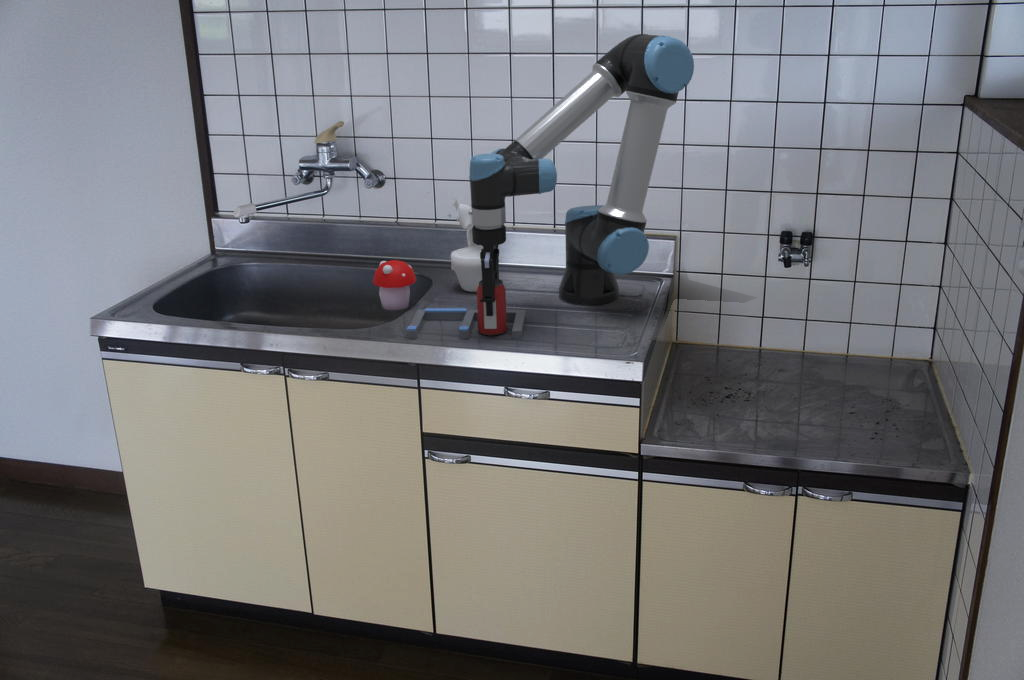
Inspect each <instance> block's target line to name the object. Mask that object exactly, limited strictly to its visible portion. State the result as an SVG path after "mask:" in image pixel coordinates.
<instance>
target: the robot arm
mask: <svg viewBox="0 0 1024 680" xmlns="http://www.w3.org/2000/svg"><path fill="white" fill-rule="evenodd" d="M694 71H695V62H694V57H693V54H692V52H691V50H690V48H689V47H688V46H687V44H686V43H685V42H684V41H682V40H680V39H678V38H675V37H671V36H669V35H667V36H666V35H663V34H662V35H656V34H655V35H653V34H648V33H647V34H645V33H638V34H635V35H631V36H628V37H627V38H625V39H624V40H622V41H620V42H619V43H618V44H616V45H615V46H614V47H612V48H611V49H610V50H609V51H607V52H606V53H605V54H604V55H603V56H601V57H600V59H598V60H597V61H596V62H595V63H594V64H593V65H592V70H591V72H590V73H589V74H588V75H587V76H585V78H583V79H582V80H581V81H580V82H579V83H578V84H576V85H575V87H573V88H572V89H571V90H570V91H569V92H567V93H566V94H565V95H564V96H563V97H562V98H561V99H560V100H559V101H557V102H556V103H555V104H554V105H553V106H552V107H551V108H550V109H549V110H547V111H546V112H545V113H544V114H543V115H542V116H541V117H540V118H538V120H536V121H535V122H534V123H533V124H532V125H531V126H529V127H528V128H527V129H526V130H525V131H523V132H522V133H521V134H520V135H519V136H518V137H516V139H515V140H513V141H512V142H511V143H510V144H509V145H508V146H507V147H505V148H498V149H496V150H493V152H491V153H481V154H476V155H473V156H472V157H471V158H470V161H469V176H468V178H469V188H470V202H471V204H470V205H471V206H470V207H471V209H472V210H471V211H469V214H470V215H473V216H472V224H473V225H474V226H473V227H472V240H473V244H475V245H478V246H482V247H483V249H482V250H481V252H480V259H481V270H482V297H483V298H482V299H480V302H484V327H485V329H496V328H497V321H496V300H495V279H500V270H499V265H500V260H499V259H500V248H499V246H501V245H502V244H504V243H506V241H507V227H506V225H505V224H506V223H507V222H506V221H507V219H506V218H507V217H506V215H507V214H506V213H507V212H506V198H509V197H517V196H527V195H537V194H539V195H541V194H544V193H550V192H552V191H553V190H555V188H556V186H557V181H558V172H557V168H556V166H555V163H554V161H553V160H551V159H550V158H545V157H546V156H547V155H548V154H549V153H551V152H552V151H553V150H554V149H555V148H556V147H557V146H558V145H560V144H561V143H562V142H563V141H564V140H565V139H567V137H569V136H570V135H571V134H572V133H574V131H576V130H577V129H578V128H579V127H580V126H581V125H583V123H584V122H586V121H587V120H589V118H590V117H592V116H593V115H594V114H595V113H596V112H597V111H599V109H600V108H602V107H603V106H604V105H605V104H607V102H609V101H610V100H611V99H612V98H614V97H615V98H619V97H621V96H622V95H623V94H624V93H626V95H627V97H628V98H629V101H630V102H629V107H628V112H627V115H626V119H625V124H624V128H623V132H622V136H621V141H620V145H619V150H618V154H617V158H616V162H615V166H614V170H613V173H612V178H611V179H612V180H611V182H610V186H609V187H610V188H609V192H608V196H607V199H606V203H605V205H602V204H601V205H599V204H598V205H597V204H596V205H581V206H576V207H572V208H569V209H567V211H566V213H565V221H564V225H565V226H564V227H565V229H564V230H565V233H564V234H565V268H564V271H563V275H562V278H561V281H560V284H559V287H558V288H559V289H558V297H559V299H561V300H562V301H564V302H566V303H570V304H574V305H581V306H596V305H605V304H609V303H612V302H614V301H616V300H617V299H619V297H620V292H619V291H620V288H619V284H618V283H619V282H618V280H617V277H616V275H621V276H623V275H627V274H631V273H633V272H634V271H636V270H637V269H639V268H640V267H641V266H643V264H644V262H645V261H646V259H647V257H648V254H649V250H650V243H649V240H648V238H647V235H646V234H645V230H646V226H647V218H646V217H645V215H644V213H643V211H644V205H645V202H646V198H647V193H648V191H649V190H648V189H649V186H650V182H651V177H652V173H653V169H654V166H655V162H656V157H657V153H658V149H659V145H660V141H661V137H662V133H663V129H664V126H665V122H666V121H665V120H666V117H667V113H668V110H669V108H671V107H672V106H674V105H675V104H677V100H678V96H679V93H680V91H682V90H684V88H685V87H687V86H688V85H689V84H690V82H691V80H692V79H693V78H692V77H693V75H694Z"/></svg>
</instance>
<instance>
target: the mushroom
mask: <svg viewBox="0 0 1024 680" xmlns="http://www.w3.org/2000/svg"><path fill="white" fill-rule="evenodd" d="M416 281H417V277H416V275H415V271H414V269H413V267H412V266H411V265H410V264H408V263H407V262H405V261H401V260H396V259H391V260H389V261H387V260H382V261H380V263H379V266H378V267H377V268H376V269H375V271H374V275H373V280H372V284H373V285H375V286H376V287H379V292H378V295H379V298H380V303H381V307H382V309H383V310H387V311H401V310H404V309H407V308H408V307H409V304H410V295H411V290H410V286H411V285H414V283H415V282H416Z"/></svg>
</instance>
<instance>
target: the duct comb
mask: <svg viewBox="0 0 1024 680" xmlns="http://www.w3.org/2000/svg"><path fill="white" fill-rule="evenodd" d="M426 321H462V323H461V324H460V326H459V328H458V330H459V333H458V334H459V340H469V339H470V336H471V333H472V330H473V327H474V324H475V321H478V309H468V308H467V307H465V308H461V307H459V308H458V307H457V308H456V307H455V308H453V307H452V308H451V307H448V308H447V307H445V308H444V307H443V308H442V307H440V308H439V307H437V308H436V307H435V308H434V307H426V308H425V309H417V310H416V312H415V314H414V316H413V318H412V320H411V322H410V324H409V325H408V326H407V327H406V337H407V339H408V340H413V339H414V340H416V339H417V337H418V336H419V334H420V332H421V330H422V328H423V326H424V324H425V322H426ZM507 321H513V325H512V329H511V338H512V340H522V337H523V331H524V327H525V322H526V309H506V322H507Z"/></svg>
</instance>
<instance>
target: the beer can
mask: <svg viewBox="0 0 1024 680" xmlns="http://www.w3.org/2000/svg"><path fill="white" fill-rule="evenodd" d="M506 292H507V291H506V287H505V285H504V281H503V280H502V279H500V278H499V279H495V300H496V321H497V328H496V329H485V327H484V302H480V299H482V298H483V297H482V280H481V281H480V282H479V285H478V288H477V292H476V302H477V310H478V320H477V329H478V332H479V333H480V334H482V335H485V336H489V337H490V336H492V337H493V336H498V335H502V334H504V333H505V332H506V331H507V329H508V328H507V326H508V325H507V321H506V310H507V302H506V301H507V297H506V295H507V294H506Z"/></svg>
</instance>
